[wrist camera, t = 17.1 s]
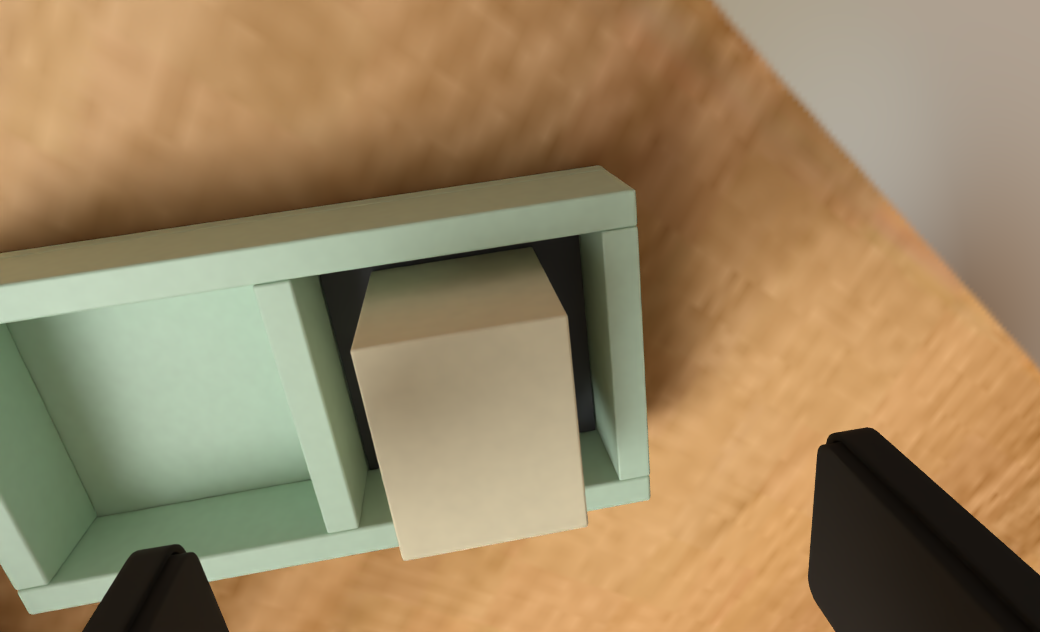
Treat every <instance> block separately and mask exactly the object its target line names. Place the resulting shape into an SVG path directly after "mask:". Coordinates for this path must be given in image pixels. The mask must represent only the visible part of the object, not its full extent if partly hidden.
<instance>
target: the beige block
mask: <svg viewBox="0 0 1040 632" xmlns="http://www.w3.org/2000/svg"><path fill="white" fill-rule="evenodd" d="M351 356H352V360H353V364H354V368H355V372H356V376H357V380H358V384H359V388H360V392H361V396H362V400H363V404H364V408H365V412H366V416H367V420H368V424H369V428H370V432H371V436H372V440H373V444H374V448H375V452H376V456H377V460H378V464H379V468H380V472H381V476H382V480H383V484H384V488H385V492H386V496H387V500H388V504H389V508H390V512H391V516H392V520H393V524H394V528H395V532H396V536H397V540H398V544H399V548H400V552H401V556H402V559H403V560H404V561H407V560H413V559H418V558H423V557H429V556H434V555H439V554H445V553H450V552H455V551H461V550H466V549H471V548H477V547H482V546H487V545H493V544H498V543H503V542H509V541H514V540H519V539H525V538H530V537H535V536H541V535H546V534H551V533H557V532H562V531H567V530H573V529H578V528H583V527H587V526H588V516H587V506H586V496H585V486H584V476H583V466H582V455H581V445H580V435H579V425H578V415H577V405H576V395H575V385H574V374H573V364H572V354H571V344H570V334H569V324H568V316H567V314H566V312H565V310H564V308H563V306H562V304H561V302H560V300H559V299H558V297H557V295H556V293H555V291H554V289H553V287H552V285H551V283H550V281H549V279H548V277H547V275H546V273H545V271H544V269H543V268H542V266H541V264H540V262H539V260H538V258H537V256H536V254H535V252H534V250H533V248H532V247H527V248H521V249H514V250H508V251H501V252H495V253H488V254H482V255H475V256H469V257H462V258H456V259H450V260H443V261H437V262H430V263H424V264H417V265H411V266H404V267H398V268H391V269H385V270H378V271H373V272H371V275H370V279H369V282H368V286H367V290H366V294H365V298H364V302H363V305H362V309H361V313H360V317H359V321H358V324H357V328H356V332H355V336H354V340H353V343H352V347H351Z"/></svg>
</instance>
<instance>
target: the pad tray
mask: <svg viewBox="0 0 1040 632" xmlns="http://www.w3.org/2000/svg"><path fill="white" fill-rule="evenodd" d="M636 225H637V208H636V192H635V190H634V189H633V188H631V187H630V186H629V185H627V184H626V183H624V182H623V181H621V180H620V179H618V178H617V177H615V176H614V175H612V174H611V173H610V172H608V171H607V170H605V169H604V168H603V167H602V166H600V165H597V166H590V167H583V168H577V169H570V170H563V171H556V172H549V173H542V174H536V175H529V176H522V177H515V178H508V179H502V180H495V181H488V182H481V183H474V184H468V185H461V186H454V187H447V188H440V189H433V190H427V191H420V192H413V193H406V194H399V195H393V196H386V197H379V198H372V199H365V200H359V201H352V202H345V203H338V204H331V205H325V206H318V207H311V208H304V209H297V210H290V211H284V212H277V213H270V214H263V215H256V216H250V217H243V218H236V219H229V220H222V221H216V222H209V223H202V224H195V225H188V226H182V227H175V228H168V229H161V230H154V231H147V232H141V233H134V234H127V235H120V236H113V237H107V238H100V239H93V240H86V241H79V242H73V243H66V244H59V245H52V246H45V247H39V248H32V249H25V250H18V251H11V252H4V253H0V564H1V566H2V568H3V570H4V571H5V573H6V575H7V576H8V578H9V580H10V582H11V583H12V585H13V587H14V588H15V589H16V590H18V595H19V597H20V599H21V600H22V602H23V604H24V606H25V607H26V609H27V611H28V613H30V614H38V613H44V612H49V611H55V610H60V609H65V608H71V607H76V606H81V605H87V604H92V603H98V602H101V601H102V599H103V597H104V596H105V594H106V592H107V591H108V589H109V588H110V586H111V584H112V583H113V581H114V580H115V578H116V576H117V575H118V573H119V572H120V570H121V568H122V567H123V565H124V563H125V562H126V560H127V559H128V557H129V556H130V555H131V554H132V553H133V552H135V551H137V550H142V549H148V548H154V547H160V546H166V545H172V544H180V545H181V546H182V547H183V548H184V549H185V551H186V553H187V552H194V553H195V554H196V555H197V556H198V558H199V560H200V563H201V565H202V567H203V570H204V572H205V575H206V577H207V580H208V582H210V581H216V580H221V579H227V578H232V577H237V576H243V575H248V574H253V573H259V572H264V571H270V570H275V569H280V568H286V567H291V566H296V565H302V564H307V563H313V562H318V561H323V560H329V559H334V558H339V557H345V556H350V555H356V554H361V553H366V552H372V551H377V550H382V549H388V548H393V547H399V544H398V540H397V536H396V532H395V528H394V524H393V520H392V516H391V512H390V508H389V504H388V500H387V496H386V492H385V488H384V484H383V480H382V476H381V472H380V468H379V464H378V460H377V456H376V452H375V448H374V444H373V440H372V436H371V432H370V428H369V424H368V420H367V416H366V412H365V408H364V404H363V400H362V396H361V392H360V388H359V384H358V380H357V376H356V372H355V368H354V364H353V360H352V356H351V347H352V343H353V340H354V336H355V332H356V328H357V324H358V321H359V317H360V313H361V309H362V305H363V302H364V298H365V294H366V290H367V286H368V282H369V279H370V275H371V272H373V271H378V270H385V269H391V268H398V267H404V266H411V265H417V264H424V263H430V262H437V261H443V260H450V259H456V258H462V257H469V256H475V255H482V254H488V253H495V252H501V251H508V250H514V249H521V248H527V247H532V248H533V250H534V252H535V254H536V256H537V258H538V260H539V262H540V264H541V266H542V268H543V269H544V271H545V273H546V275H547V277H548V279H549V281H550V283H551V285H552V287H553V289H554V291H555V293H556V295H557V297H558V299H559V300H560V302H561V304H562V306H563V308H564V310H565V312H566V314H567V316H568V324H569V334H570V344H571V354H572V364H573V374H574V385H575V395H576V405H577V415H578V425H579V435H580V445H581V455H582V466H583V476H584V486H585V496H586V506H587V511H592V510H597V509H603V508H608V507H614V506H619V505H624V504H630V503H635V502H640V501H646V500H649V499H650V477H649V474H650V467H649V446H648V426H647V405H646V385H645V365H644V344H643V324H642V303H641V283H640V263H639V242H638V228H637V226H636Z"/></svg>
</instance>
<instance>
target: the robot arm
mask: <svg viewBox="0 0 1040 632" xmlns="http://www.w3.org/2000/svg"><path fill="white" fill-rule="evenodd" d="M808 581H809V587H810V590H811V593H812V595H813V598H814V600H815V601H816V603H817V605H818V606H819V608H820V609H821V611H822V612H823V614H824V615H825V617H826V618H827V620H828V621H829V623H830V624H831V626H832V627H833V629H834V630H835V632H1040V575H1039V574H1038V573H1037V572H1035V571H1034V570H1033V569H1032V568H1031V567H1030V566H1029V565H1027V564H1026V563H1025V562H1024V561H1023V560H1022V559H1021V558H1020V557H1018V556H1017V555H1016V554H1015V553H1014V552H1013V551H1012V550H1011V549H1009V548H1008V547H1007V546H1006V545H1005V544H1004V543H1003V542H1002V541H1000V540H999V539H998V538H997V537H996V536H995V535H994V534H992V533H991V532H990V531H989V530H988V529H987V528H986V527H985V526H983V525H982V524H981V523H980V522H979V521H978V520H977V519H976V518H974V517H973V516H972V515H971V514H970V513H969V512H968V511H967V510H965V509H964V508H963V507H962V506H961V505H960V504H959V503H957V502H956V501H955V500H954V499H953V498H952V497H951V496H950V495H948V494H947V493H946V492H945V491H944V490H943V489H942V488H941V487H939V486H938V485H937V484H936V483H935V482H934V481H933V480H932V479H930V478H929V477H928V476H927V475H926V474H925V473H924V472H923V471H921V470H920V469H919V468H918V467H917V466H916V465H915V464H913V463H912V462H911V461H910V460H909V459H908V458H907V457H906V456H904V455H903V454H902V453H901V452H900V451H899V450H898V449H897V448H895V447H894V446H893V445H892V444H891V443H890V442H889V441H888V440H886V439H885V438H884V437H883V436H882V435H881V434H880V433H878V432H877V431H876V430H874V429H873V428H868V427H867V428H861V429H855V430H849V431H843V432H837V433H833V434H831V435H829V437H828V439H827V443H826V444H825V445H821V446H820V447H819V449H818V453H817V464H816V477H815V491H814V504H813V517H812V531H811V544H810V557H809V571H808ZM82 632H229V630H228V628H227V625H226V623H225V621H224V618H223V616H222V613H221V611H220V609H219V606H218V604H217V601H216V599H215V596H214V594H213V592H212V589H211V587H210V584H209V582H208V580H207V577H206V575H205V572H204V570H203V567H202V565H201V563H200V560H199V558H198V556H197V555H196V554H195V553H194V552H187V553H186V551H185V549H184V548H183V547H182V546H181V545H180V544H172V545H166V546H160V547H154V548H148V549H142V550H137V551H135V552H133V553H132V554H131V555H130V556H129V557H128V559H127V560H126V562H125V563H124V565H123V567H122V568H121V570H120V572H119V573H118V575H117V576H116V578H115V580H114V581H113V583H112V584H111V586H110V588H109V589H108V591H107V592H106V594H105V596H104V597H103V599H102V601H101V602H100V604H99V605H98V607H97V609H96V610H95V612H94V613H93V615H92V617H91V618H90V620H89V622H88V623H87V625H86V626H85V628H84V630H83V631H82Z"/></svg>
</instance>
